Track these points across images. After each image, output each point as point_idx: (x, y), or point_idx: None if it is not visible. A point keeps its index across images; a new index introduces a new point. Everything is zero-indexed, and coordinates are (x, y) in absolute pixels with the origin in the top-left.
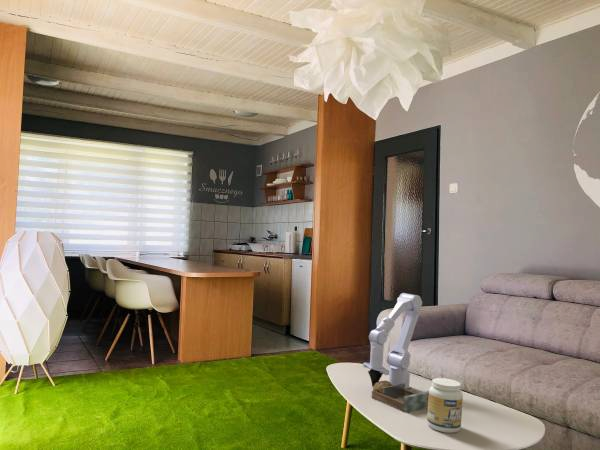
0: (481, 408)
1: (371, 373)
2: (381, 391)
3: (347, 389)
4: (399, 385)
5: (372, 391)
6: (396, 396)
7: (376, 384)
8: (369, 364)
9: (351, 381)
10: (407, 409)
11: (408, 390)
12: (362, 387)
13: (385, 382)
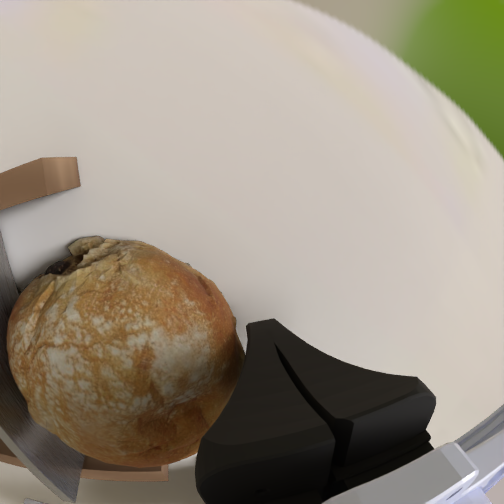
0: (5, 498)
1: (328, 413)
2: (39, 288)
3: (386, 91)
4: (23, 459)
5: (37, 159)
6: None
7: (124, 319)
8: (497, 475)
9: (481, 265)
10: None
11: None
12: (379, 267)
13: (63, 419)
